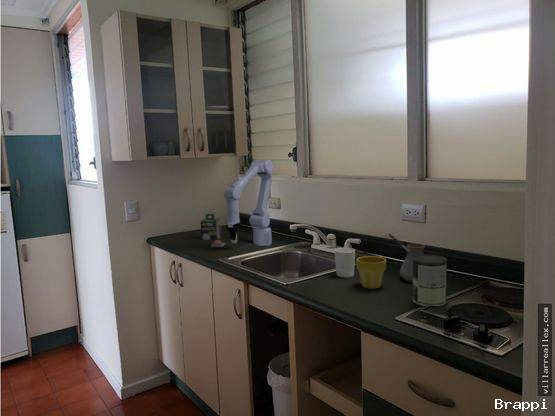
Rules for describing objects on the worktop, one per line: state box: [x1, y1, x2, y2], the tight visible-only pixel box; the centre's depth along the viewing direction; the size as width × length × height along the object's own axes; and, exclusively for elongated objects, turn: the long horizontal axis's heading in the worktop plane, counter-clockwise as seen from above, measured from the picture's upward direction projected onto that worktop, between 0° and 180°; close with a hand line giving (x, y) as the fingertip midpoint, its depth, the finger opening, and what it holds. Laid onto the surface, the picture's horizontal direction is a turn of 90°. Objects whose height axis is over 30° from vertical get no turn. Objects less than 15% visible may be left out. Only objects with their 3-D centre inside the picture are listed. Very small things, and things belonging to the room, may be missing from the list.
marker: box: [230, 235, 238, 244], centre depth 215 cm, size 3×3×7 cm
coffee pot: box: [385, 233, 426, 283], centre depth 166 cm, size 21×12×15 cm, turn 26°
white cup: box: [334, 247, 356, 278], centre depth 171 cm, size 8×8×10 cm
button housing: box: [210, 242, 226, 248], centre depth 226 cm, size 6×6×2 cm
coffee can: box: [412, 254, 448, 307], centre depth 139 cm, size 10×10×14 cm
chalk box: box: [199, 213, 222, 241], centre depth 245 cm, size 9×9×15 cm
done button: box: [214, 239, 222, 245], centre depth 226 cm, size 3×3×2 cm
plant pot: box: [355, 255, 387, 290], centre depth 157 cm, size 10×10×10 cm
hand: (234, 239), depth 216 cm, fingers closed on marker, 3 cm apart
